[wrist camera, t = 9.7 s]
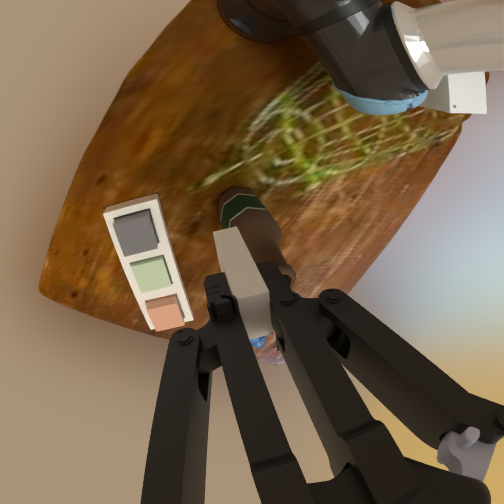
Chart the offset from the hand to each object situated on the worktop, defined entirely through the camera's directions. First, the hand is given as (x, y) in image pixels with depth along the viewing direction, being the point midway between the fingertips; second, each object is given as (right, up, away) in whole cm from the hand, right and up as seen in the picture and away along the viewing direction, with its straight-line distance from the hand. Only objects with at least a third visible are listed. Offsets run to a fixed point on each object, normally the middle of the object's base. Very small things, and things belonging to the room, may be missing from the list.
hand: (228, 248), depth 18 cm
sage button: (-17, -3, +34) cm, 39 cm away
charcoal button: (-18, +4, +28) cm, 34 cm away
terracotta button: (-16, -11, +38) cm, 43 cm away
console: (-18, -3, +35) cm, 39 cm away
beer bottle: (-1, +8, +34) cm, 35 cm away
